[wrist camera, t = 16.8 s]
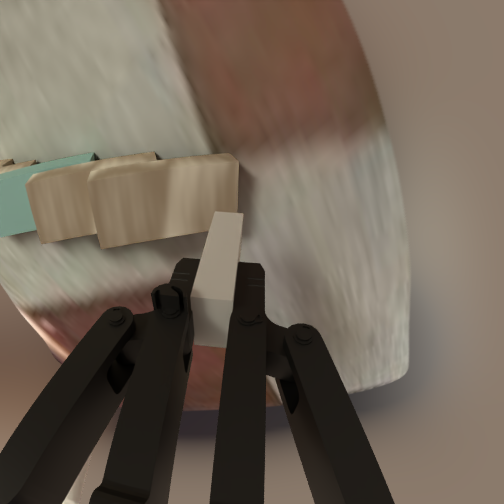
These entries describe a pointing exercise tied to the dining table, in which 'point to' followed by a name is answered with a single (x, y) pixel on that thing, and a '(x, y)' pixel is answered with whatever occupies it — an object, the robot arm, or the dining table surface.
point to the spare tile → (25, 194)
